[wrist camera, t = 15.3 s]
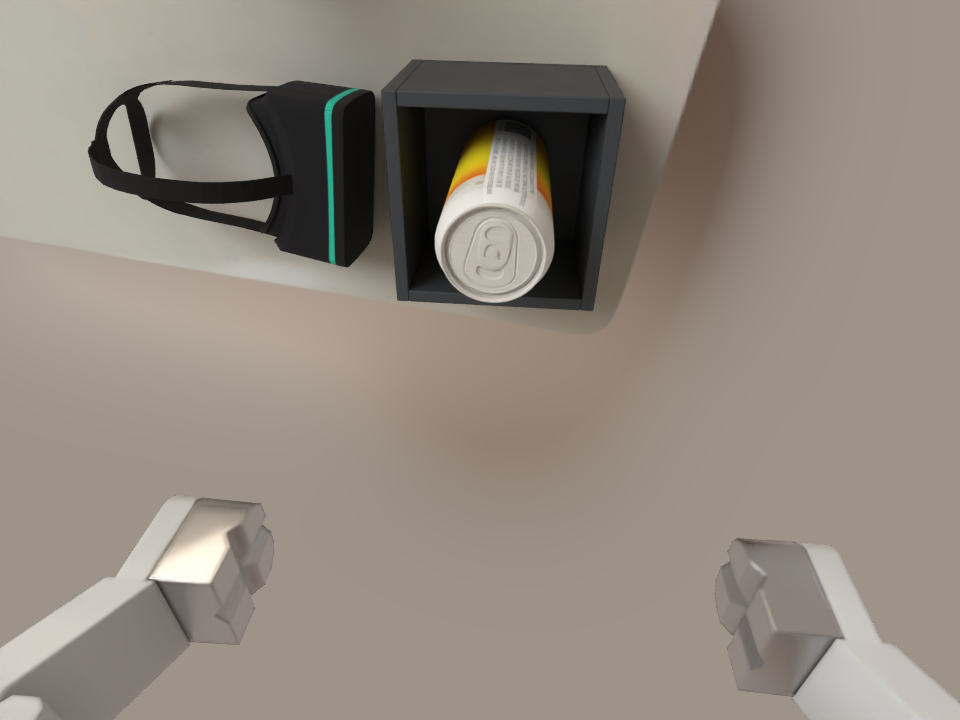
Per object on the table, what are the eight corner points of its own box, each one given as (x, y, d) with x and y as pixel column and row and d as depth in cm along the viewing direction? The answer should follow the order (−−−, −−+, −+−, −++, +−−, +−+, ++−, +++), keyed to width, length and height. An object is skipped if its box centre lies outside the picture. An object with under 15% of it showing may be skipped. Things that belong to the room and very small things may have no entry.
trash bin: (606, 65, 37) (626, 98, 29) (582, 247, 44) (593, 311, 37) (411, 59, 38) (380, 89, 30) (420, 239, 45) (396, 300, 37)
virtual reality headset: (372, 240, 45) (318, 303, 37) (171, 199, 46) (77, 250, 38) (375, 87, 38) (310, 122, 30) (141, 44, 40) (19, 67, 32)
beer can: (456, 195, 42) (425, 298, 30) (468, 108, 39) (439, 185, 26) (537, 210, 42) (539, 318, 30) (557, 125, 39) (568, 209, 27)
